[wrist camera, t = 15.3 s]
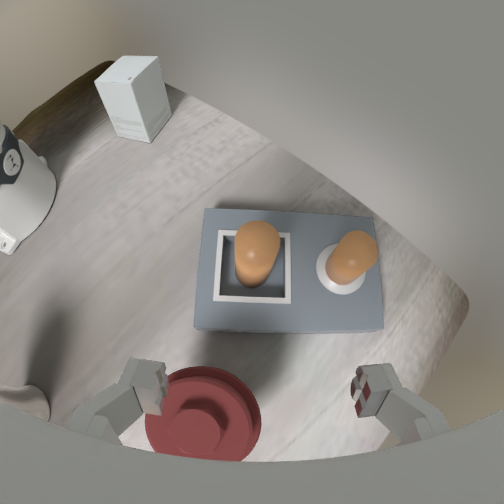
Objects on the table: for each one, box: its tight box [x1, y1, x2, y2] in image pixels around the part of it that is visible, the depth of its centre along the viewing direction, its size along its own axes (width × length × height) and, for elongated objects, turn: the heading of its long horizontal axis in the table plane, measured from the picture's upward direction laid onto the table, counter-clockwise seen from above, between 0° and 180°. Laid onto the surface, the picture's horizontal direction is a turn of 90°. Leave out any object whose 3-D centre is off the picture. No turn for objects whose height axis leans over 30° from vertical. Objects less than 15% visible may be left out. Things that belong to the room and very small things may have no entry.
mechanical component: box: [145, 366, 261, 461], centre depth 23 cm, size 12×10×10 cm
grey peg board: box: [194, 208, 384, 334], centre depth 31 cm, size 21×14×9 cm, turn 88°
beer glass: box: [0, 384, 50, 422], centre depth 20 cm, size 7×7×15 cm
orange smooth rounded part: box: [235, 220, 280, 288], centre depth 30 cm, size 4×4×9 cm
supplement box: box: [94, 56, 172, 143], centre depth 38 cm, size 7×7×13 cm
